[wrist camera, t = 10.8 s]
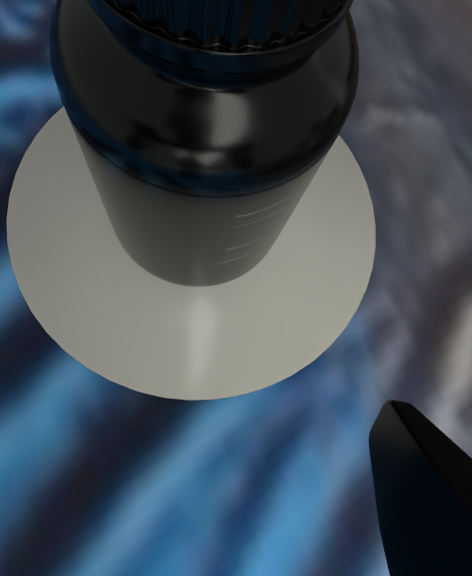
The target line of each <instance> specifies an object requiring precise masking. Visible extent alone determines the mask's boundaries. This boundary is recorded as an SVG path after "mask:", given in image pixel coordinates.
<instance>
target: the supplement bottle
mask: <svg viewBox="0 0 472 576" xmlns="http://www.w3.org/2000/svg"><path fill="white" fill-rule="evenodd" d="M352 2H353V0H56V2H55V5H54V9H53V14H52V18H51V24H50V35H49V45H50V59H51V65H52V70H53V74H54V77H55V81H56V84H57V87H58V91H59V94H60V97H61V100H62V102H63V105H64V108H65V110H66V113H67V115H68V118H69V120H70V123H71V125H72V128H73V130H74V133H75V135H76V138H77V140H78V143H79V145H80V148H81V150H82V153H83V155H84V158H85V160H86V162H87V165H88V167H89V170H90V172H91V175H92V177H93V180H94V182H95V185H96V187H97V190H98V192H99V195H100V197H101V200H102V202H103V205H104V207H105V210H106V212H107V215H108V217H109V220H110V222H111V225H112V227H113V229H114V231H115V233H116V236H117V238H118V240H119V241H120V243H121V245H122V246H123V248H124V249H125V251H126V252H127V253H128V254H129V256H130V257H131V258H132V259H133V260H134V261H135V262H136V263H137V264H138V265H139V266H141V267H142V268H143V269H145V270H146V271H147V272H149V273H151V274H152V275H154V276H156V277H158V278H160V279H162V280H165V281H167V282H170V283H174V284H177V285H183V286H191V287H207V286H214V285H219V284H223V283H226V282H230V281H232V280H234V279H237V278H239V277H240V276H242V275H244V274H246V273H247V272H249V271H250V270H251V269H253V268H254V267H255V266H256V265H257V264H258V263H259V262H260V261H261V260H262V259H263V258H264V257H265V256H266V254H267V253H268V252H269V250H270V249H271V247H272V246H273V244H274V243H275V241H276V240H277V238H278V236H279V235H280V233H281V231H282V230H283V228H284V226H285V225H286V223H287V221H288V220H289V218H290V216H291V214H292V213H293V211H294V209H295V208H296V206H297V204H298V203H299V201H300V199H301V198H302V196H303V194H304V193H305V191H306V189H307V188H308V186H309V184H310V183H311V181H312V179H313V177H314V176H315V174H316V172H317V171H318V169H319V167H320V166H321V164H322V162H323V161H324V159H325V157H326V156H327V154H328V152H329V151H330V149H331V147H332V145H333V144H334V142H335V140H336V139H337V137H338V135H339V133H340V131H341V129H342V127H343V125H344V123H345V121H346V119H347V117H348V115H349V112H350V110H351V107H352V105H353V102H354V99H355V94H356V89H357V84H358V75H359V52H358V44H357V37H356V31H355V28H354V24H353V20H352V17H351V14H350V11H349V9H350V7H351V4H352Z"/></svg>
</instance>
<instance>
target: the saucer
mask: <svg viewBox="0 0 472 576" xmlns="http://www.w3.org/2000/svg"><path fill="white" fill-rule="evenodd" d="M7 243H8V249H9V254H10V260H11V265H12V268H13V271H14V274H15V277H16V280H17V283H18V286H19V289H20V291H21V293H22V295H23V297H24V298H25V300H26V302H27V304H28V306H29V308H30V310H31V312H32V313H33V314H34V316H35V317H36V319H37V320H38V321H39V323H40V324H41V325H42V327H43V328H44V330H45V331H46V332H47V333H48V334H49V335H50V336H51V337H52V338H53V339H54V340H55V341H56V342H57V343H58V345H59V346H60V347H61V348H62V349H63V350H64V351H65V352H67V353H68V354H69V355H71V356H72V357H73V358H75V359H76V360H77V361H79V362H80V363H81V364H83V365H84V366H85V367H86V368H88V369H90V370H92V371H94V372H95V373H97V374H99V375H101V376H103V377H104V378H106V379H108V380H110V381H112V382H115V383H117V384H120V385H122V386H125V387H127V388H130V389H132V390H135V391H138V392H141V393H146V394H150V395H154V396H158V397H162V398H169V399H179V400H189V401H190V400H216V399H221V398H227V397H233V396H239V395H244V394H247V393H250V392H253V391H256V390H259V389H263V388H266V387H269V386H271V385H273V384H275V383H277V382H279V381H281V380H283V379H286V378H288V377H290V376H292V375H293V374H295V373H296V372H298V371H299V370H301V369H302V368H304V367H305V366H307V365H308V364H310V363H311V362H313V361H314V360H315V359H316V358H317V357H318V356H320V355H321V354H322V353H323V352H324V351H325V350H326V349H327V348H329V347H330V346H331V345H332V343H333V342H334V341H335V340H336V339H337V337H338V336H339V335H340V334H341V333H342V332H343V330H344V329H345V328H346V326H347V325H348V323H349V322H350V320H351V319H352V317H353V315H354V314H355V312H356V311H357V309H358V307H359V304H360V302H361V300H362V298H363V296H364V293H365V291H366V289H367V285H368V282H369V278H370V275H371V271H372V268H373V260H374V253H375V219H374V212H373V205H372V201H371V197H370V194H369V190H368V187H367V184H366V181H365V179H364V176H363V174H362V172H361V169H360V167H359V165H358V163H357V161H356V160H355V158H354V156H353V154H352V153H351V151H350V149H349V147H348V146H347V145H346V143H345V142H344V141H343V139H342V138H341V137H340V135H338V137H337V139H336V140H335V142H334V144H333V145H332V147H331V149H330V151H329V152H328V154H327V156H326V157H325V159H324V161H323V162H322V164H321V166H320V167H319V169H318V171H317V172H316V174H315V176H314V177H313V179H312V181H311V183H310V184H309V186H308V188H307V189H306V191H305V193H304V194H303V196H302V198H301V199H300V201H299V203H298V204H297V206H296V208H295V209H294V211H293V213H292V214H291V216H290V218H289V220H288V221H287V223H286V225H285V226H284V228H283V230H282V231H281V233H280V235H279V236H278V238H277V240H276V241H275V243H274V244H273V246H272V247H271V249H270V250H269V252H268V253H267V254H266V256H265V257H264V258H263V259H262V260H261V261H260V262H259V263H258V264H257V265H256V266H255V267H254V268H253V269H251V270H250V271H249V272H247V273H246V274H244V275H242V276H240V277H239V278H237V279H234V280H232V281H230V282H226V283H223V284H219V285H214V286H207V287H191V286H183V285H177V284H174V283H170V282H167V281H165V280H162V279H160V278H158V277H156V276H154V275H152V274H151V273H149V272H147V271H146V270H145V269H143V268H142V267H141V266H139V265H138V264H137V263H136V262H135V261H134V260H133V259H132V258H131V257H130V256H129V254H128V253H127V252H126V251H125V249H124V248H123V246H122V245H121V243H120V241H119V240H118V238H117V236H116V233H115V231H114V229H113V227H112V225H111V222H110V220H109V217H108V215H107V212H106V210H105V207H104V205H103V202H102V200H101V197H100V195H99V192H98V190H97V187H96V185H95V182H94V180H93V177H92V175H91V172H90V170H89V167H88V165H87V162H86V160H85V158H84V155H83V153H82V150H81V148H80V145H79V143H78V140H77V138H76V135H75V133H74V130H73V128H72V125H71V123H70V120H69V118H68V115H67V113H66V110H65V108H64V106H63V107H62V108H61V109H60V110H59V111H58V112H57V113H56V114H55V115H53V116H52V117H51V118H50V120H49V121H48V122H47V123H46V124H45V125H44V127H43V128H42V129H41V130H40V131H39V133H38V134H37V135H36V137H35V138H34V140H33V141H32V143H31V145H30V146H29V148H28V149H27V151H26V153H25V154H24V157H23V159H22V161H21V163H20V166H19V168H18V170H17V172H16V175H15V178H14V182H13V185H12V189H11V193H10V197H9V205H8V212H7Z"/></svg>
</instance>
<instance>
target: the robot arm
mask: <svg viewBox="0 0 472 576" xmlns="http://www.w3.org/2000/svg"><path fill="white" fill-rule="evenodd" d="M369 449H370V458H371V466H372V475H373V483H374V491H375V500H376V508H377V515H378V522H379V528H380V533H381V538H382V543H383V547H384V552H385V556H386V560H387V565H388V569H389V574H390V576H472V458H471V457H469V456H468V455H467V454H466V453H465V452H464V451H463V450H462V449H461V448H459V447H458V446H457V445H456V444H455V443H454V442H453V441H452V440H451V439H449V438H448V437H447V436H446V435H445V434H444V433H443V432H442V431H441V430H439V429H438V428H437V427H436V426H435V425H434V424H433V423H432V422H431V421H429V420H428V419H427V418H426V417H425V416H424V415H423V414H422V413H421V412H419V411H418V410H417V409H416V408H415V407H414V406H413V405H412V404H410V403H407V402H402V401H396V400H387V401H386V402H385V403H384V404H383V406H382V408H381V410H380V412H379V414H378V416H377V418H376V420H375V422H374V424H373V426H372V428H371V430H370V434H369Z"/></svg>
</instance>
